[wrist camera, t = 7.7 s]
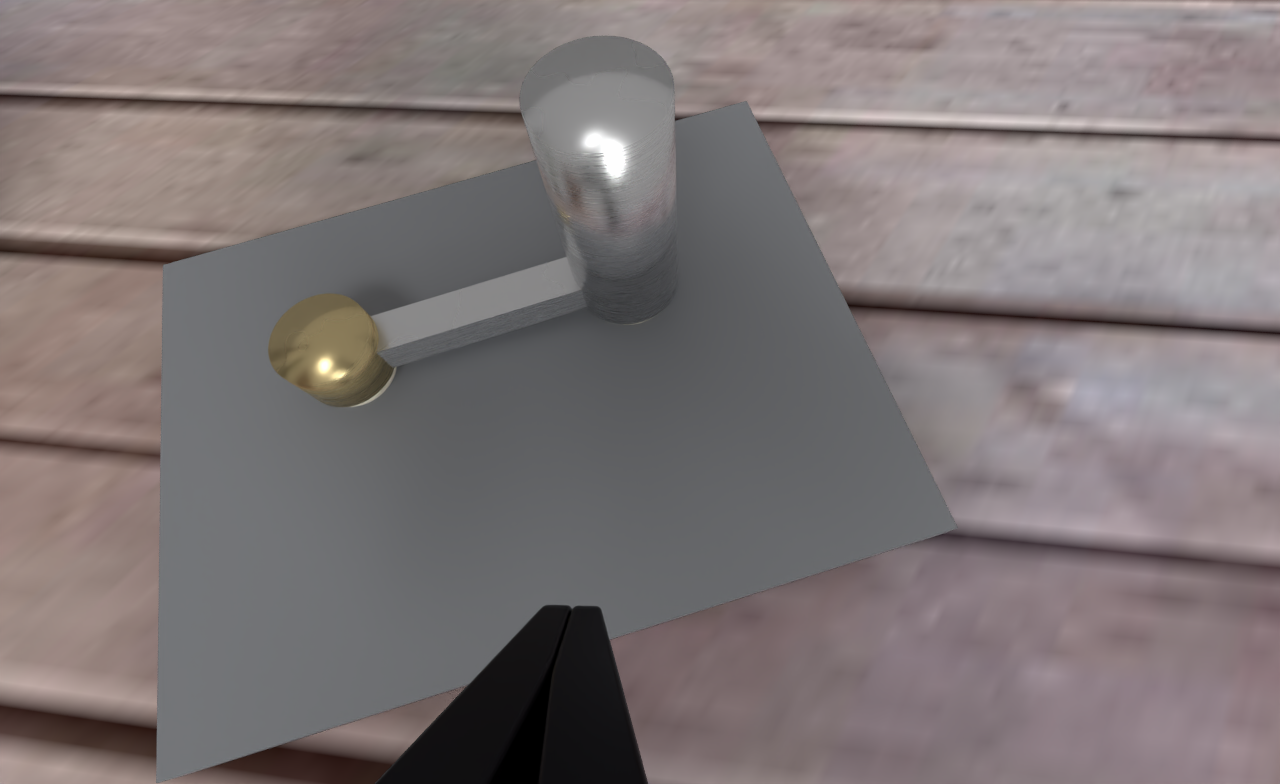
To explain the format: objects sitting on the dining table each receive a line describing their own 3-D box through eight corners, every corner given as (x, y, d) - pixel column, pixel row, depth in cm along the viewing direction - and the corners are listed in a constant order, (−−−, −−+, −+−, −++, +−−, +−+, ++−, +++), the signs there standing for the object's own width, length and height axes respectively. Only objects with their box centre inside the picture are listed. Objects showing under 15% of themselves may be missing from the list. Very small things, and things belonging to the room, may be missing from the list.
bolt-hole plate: (183, 775, 18) (151, 784, 17) (182, 279, 25) (159, 262, 24) (944, 532, 19) (960, 526, 18) (744, 120, 26) (746, 97, 25)
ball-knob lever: (310, 425, 20) (93, 303, 13) (300, 333, 22) (99, 175, 14) (692, 306, 21) (695, 124, 14) (659, 224, 22) (646, 19, 15)
